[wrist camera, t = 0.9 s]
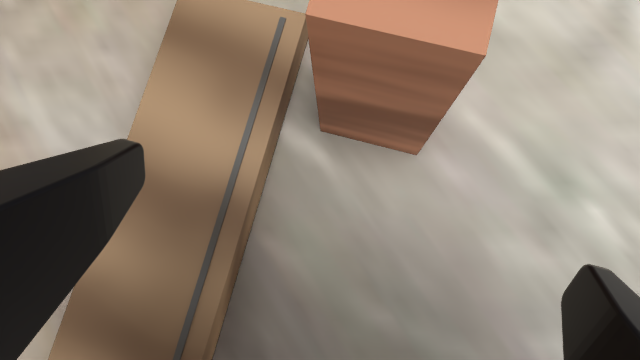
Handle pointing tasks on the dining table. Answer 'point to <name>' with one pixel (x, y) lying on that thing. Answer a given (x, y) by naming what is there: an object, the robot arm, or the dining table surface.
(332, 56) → the wooden block with peg
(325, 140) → the dining table surface
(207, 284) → the board
